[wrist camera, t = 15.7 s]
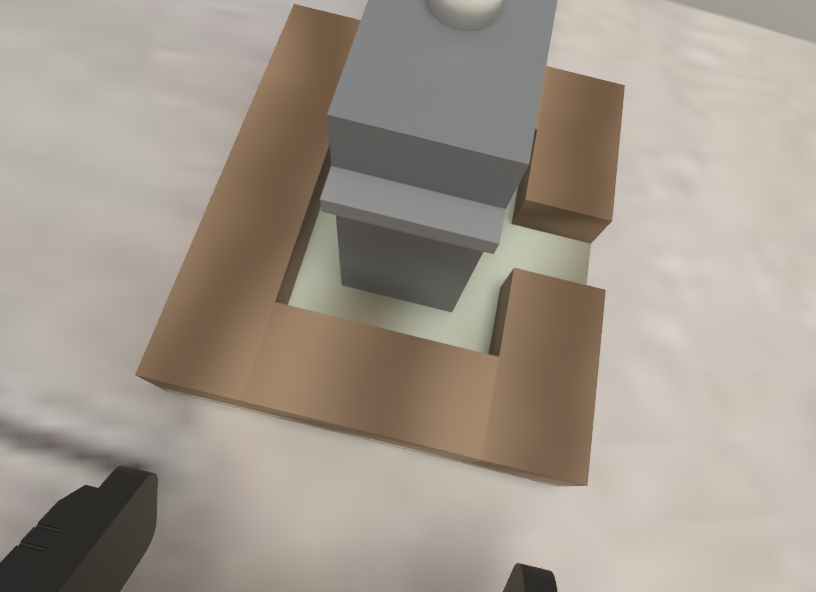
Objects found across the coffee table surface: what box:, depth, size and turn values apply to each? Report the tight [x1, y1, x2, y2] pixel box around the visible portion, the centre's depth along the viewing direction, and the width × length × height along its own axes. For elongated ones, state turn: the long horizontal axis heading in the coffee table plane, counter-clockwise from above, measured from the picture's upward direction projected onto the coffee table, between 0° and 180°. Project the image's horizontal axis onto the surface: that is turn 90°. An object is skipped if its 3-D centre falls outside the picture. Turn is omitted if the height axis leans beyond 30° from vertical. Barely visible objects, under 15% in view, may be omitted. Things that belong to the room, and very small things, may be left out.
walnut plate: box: [135, 4, 625, 486], centre depth 21 cm, size 15×17×3 cm
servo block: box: [320, 0, 557, 312], centre depth 16 cm, size 4×8×11 cm, turn 167°
